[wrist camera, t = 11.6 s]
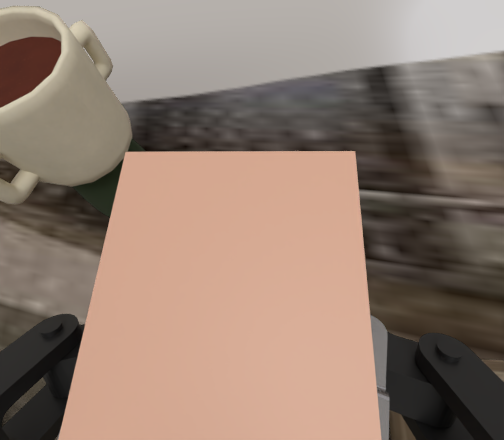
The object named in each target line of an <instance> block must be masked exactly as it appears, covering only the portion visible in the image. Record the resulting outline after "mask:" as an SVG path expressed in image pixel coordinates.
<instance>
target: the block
mask: <svg viewBox="0 0 504 440" xmlns="http://www.w3.org/2000/svg"><path fill="white" fill-rule="evenodd" d="M58 440H381V429H380V418H379V407H378V396H377V385H376V374H375V363H374V352H373V341H372V330H371V319H370V309H369V298H368V287H367V276H366V265H365V254H364V243H363V232H362V221H361V210H360V199H359V189H358V178H357V167H356V156H355V151H267V152H125V156H124V161H123V165H122V169H121V174H120V178H119V182H118V186H117V191H116V195H115V199H114V203H113V208H112V212H111V216H110V221H109V225H108V229H107V233H106V238H105V242H104V246H103V251H102V255H101V259H100V263H99V268H98V272H97V276H96V281H95V285H94V289H93V293H92V298H91V302H90V306H89V310H88V315H87V319H86V323H85V328H84V332H83V336H82V340H81V345H80V349H79V353H78V358H77V362H76V366H75V370H74V375H73V379H72V383H71V388H70V392H69V396H68V400H67V405H66V409H65V413H64V417H63V422H62V426H61V430H60V435H59V439H58Z"/></svg>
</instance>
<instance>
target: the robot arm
mask: <svg viewBox="0 0 504 440" xmlns="http://www.w3.org/2000/svg"><path fill="white" fill-rule="evenodd" d="M370 319H371V330H372V341H373V352H374V363H375V374H376V385H377V396H378V407H379V418H380V429H381V440H389V410H391V411H394V412H396V413H399V414H401V415H402V417H403V419H404V420H405V422H406V424H407V425H408V427H409V429H410V430H411V432H412V434H413V435H414V437H415V439H416V440H504V382H503V381H502V380H501V379H500V378H499V377H498V376H497V375H496V374H495V373H494V372H493V371H492V370H491V369H490V368H489V367H488V366H487V365H486V364H485V363H484V362H483V361H482V360H481V359H480V358H479V357H478V356H477V355H476V354H475V353H474V352H473V351H471V350H470V349H469V348H468V347H467V346H466V345H464V344H463V343H462V342H460V341H458V340H457V339H455V338H452V337H450V336H447V335H444V334H439V333H428V334H425V335H423V336H422V337H421V338H420V340H419V343H418V342H415V341H412V340H408V339H405V338H401V337H398V336H395V335H393V334H391V333H389V332H387V330H386V328H385V326H384V325H383V324H382V322H380V321H379V320H378V319H377V318H375V317H374V316H372V315H371V313H370ZM84 328H85V324H84V325H79V322H78V319H77V318H76V317H75V316H74V315H71V314H60V315H56V316H53V317H50V318H48V319H46V320H44V321H42V322H40V323H39V324H37V325H36V326H34V327H33V328H32V329H30V330H29V331H28V332H26V333H25V334H24V335H22V336H21V337H20V338H18V339H17V340H16V341H14V342H13V343H12V344H10V345H9V346H8V347H6V348H5V349H4V350H2V351H1V352H0V440H54V439H55V438H56V437H57V436H58V438H57V440H58V439H59V435H60V430H61V426H62V422H63V417H64V413H65V409H66V405H67V400H68V396H69V392H70V388H71V383H72V379H73V375H74V370H75V366H76V362H77V358H78V353H79V349H80V345H81V340H82V336H83V332H84ZM42 377H43V378H44V380H45V382H46V385H45V386H44V387H43V388H42V389H41V390H40V391H39V392H38V393H37V394H36V395H35V396H34V397H33V398H32V399H31V400H30V401H29V402H28V403H27V404H26V405H25V406H24V407H23V408H21V409H20V410H19V411H18V412H17V413H16V414H15V415H14V416H13V417H12V418H11V419H10V420H9V421H8V422H7V423H6V424H5V425H4V426H3V427H2V425H1V424H2V419H3V417H4V415H5V413H6V412H7V410H8V409H9V408H10V407H11V406H12V405H13V404H14V403H15V402H16V401H17V400H18V399H19V398H20V397H21V396H23V395H24V394H25V393H26V392H27V391H28V390H29V389H30V388H31V387H32V386H33V385H34V384H35V383H37V382H38V381H39V380H40V379H41V378H42Z"/></svg>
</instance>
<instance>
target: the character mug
mask: <svg viewBox="0 0 504 440" xmlns="http://www.w3.org/2000/svg"><path fill="white" fill-rule="evenodd" d="M83 47H84V48H85V49H86V51H87V52H88V54H89V55H90V56H91V58H92V60H93V61H94V63H93V62H92V60H91V59H90V58H89V56H88V55H87V53H86V52H85V50H84V49H83ZM112 68H113V65H112V62H111V59H110V58H109V56H108V54H107V53H106V51H105V49H104V48H103V46H102V45H101V43H100V41H99V40H98V38H97V36H96V35H95V33H94V31H93V30H92V29H91V28H90V27H89V26H88V25H87V24H86V23H85V22H83V21H82V20H81V21H79V22H76V23H74V24H73V25H71V27H70V28H68V27H67V25H66V24H65V23H64V22H63V20H62V19H61V18H60V17H59V15H57V14H55V13H53V12H50V11H48V10H46V9H43V8H41V7H38V6H10V7H6V8H2V9H0V159H1V158H3V159H5V160H6V161H8V162H10V163H11V164H13V165H15V166H16V167H18V168H20V170H19V172H18V173H17V175H16V176H15V178H14V179H13V181H12V182H11V183H8V182H6V181H4V180H2V179H0V200H1V201H3V202H5V203H8V204H20V203H22V202H23V201H24V200H26V199H27V198H28V196H29V195H30V193H31V192H32V190H33V189H34V187H35V186H36V184H37V183H38V181H41V182H46V183H52V184H59V185H65V186H71V187H73V188H74V189H75V190H76V191H77V192H78V193H79V194H80V195H81V196H82V197H83V198H84V199H85V200H86V201H88V202H89V203H90V204H91V205H92V206H94V207H95V208H96V209H97V210H99V211H100V212H102V213H103V214H105V215H106V216H109V217H110V216H111V212H112V208H113V203H114V199H115V195H116V191H117V186H118V182H119V178H120V174H121V169H122V165H123V161H124V156H125V152H146V151H145V150H144V149H143V148H142V147H141V146H140V145H139V144H138V143H137V142H135V141H134V140H133V139H132V130H131V123H130V119H129V116H128V113H127V112H126V110H125V109H124V107H123V106H122V104H121V103H120V101H119V100H118V98H117V97H116V96H115V94H114V93H113V92H112V90H111V88H110V87H109V85H108V84H107V82H106V79H107V78H108V77H109V75H110V74H111V72H112Z"/></svg>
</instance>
